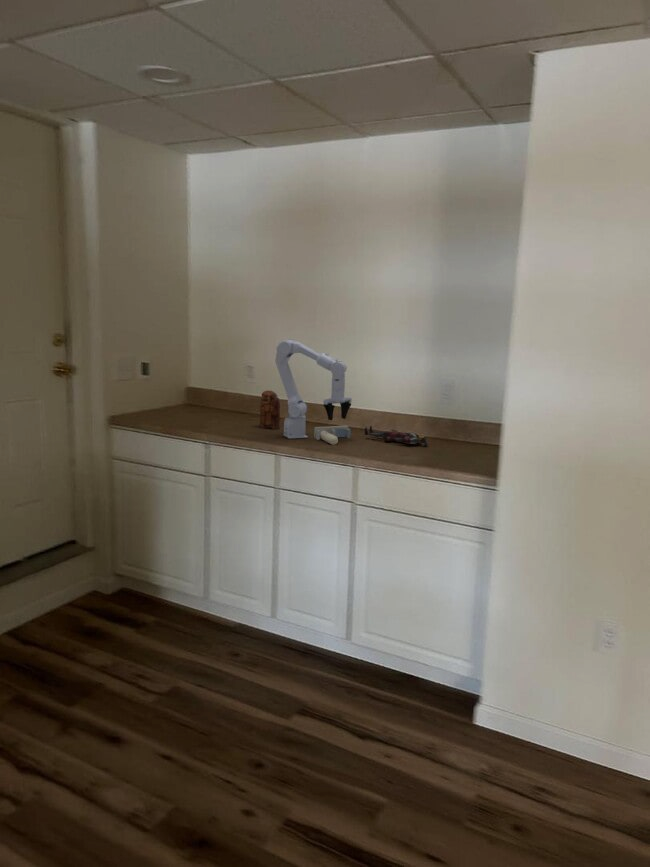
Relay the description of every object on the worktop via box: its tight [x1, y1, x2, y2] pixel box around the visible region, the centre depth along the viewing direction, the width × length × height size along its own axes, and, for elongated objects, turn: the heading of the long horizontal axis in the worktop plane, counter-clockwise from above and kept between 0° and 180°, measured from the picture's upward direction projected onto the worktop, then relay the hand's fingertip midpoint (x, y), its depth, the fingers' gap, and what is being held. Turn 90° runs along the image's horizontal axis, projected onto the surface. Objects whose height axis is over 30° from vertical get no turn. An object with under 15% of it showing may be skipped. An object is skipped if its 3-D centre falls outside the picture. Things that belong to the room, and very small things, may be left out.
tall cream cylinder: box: [320, 431, 339, 445], centre depth 290 cm, size 12×4×4 cm, turn 22°
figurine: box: [364, 425, 429, 448], centre depth 294 cm, size 13×6×30 cm
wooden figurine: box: [259, 389, 281, 430], centre depth 317 cm, size 12×6×18 cm, turn 59°
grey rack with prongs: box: [313, 425, 351, 441], centre depth 298 cm, size 16×4×5 cm, turn 112°
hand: (336, 419), depth 293 cm, fingers open, 7 cm apart
